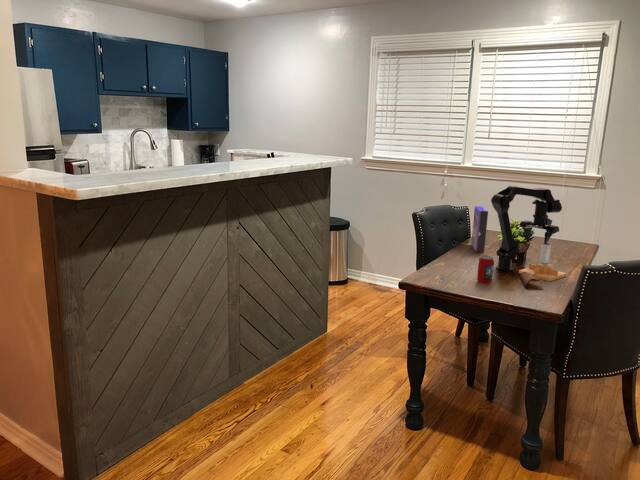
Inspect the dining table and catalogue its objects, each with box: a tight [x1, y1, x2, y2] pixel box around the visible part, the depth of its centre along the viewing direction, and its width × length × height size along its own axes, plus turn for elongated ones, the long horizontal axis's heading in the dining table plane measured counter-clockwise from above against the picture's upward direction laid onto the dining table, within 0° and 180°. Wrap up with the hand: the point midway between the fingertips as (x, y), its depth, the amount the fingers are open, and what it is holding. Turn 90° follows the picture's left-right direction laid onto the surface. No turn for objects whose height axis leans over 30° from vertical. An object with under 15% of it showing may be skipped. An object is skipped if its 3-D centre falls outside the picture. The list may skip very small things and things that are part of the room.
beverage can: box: [476, 255, 495, 285], centre depth 238 cm, size 7×7×12 cm
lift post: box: [538, 243, 552, 264], centre depth 252 cm, size 3×3×10 cm
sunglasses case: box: [520, 272, 545, 291], centre depth 239 cm, size 18×7×7 cm
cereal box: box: [470, 205, 489, 252], centre depth 303 cm, size 17×5×24 cm, turn 172°
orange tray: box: [518, 261, 568, 282], centre depth 254 cm, size 16×16×6 cm
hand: (537, 242), depth 265 cm, fingers open, 9 cm apart
